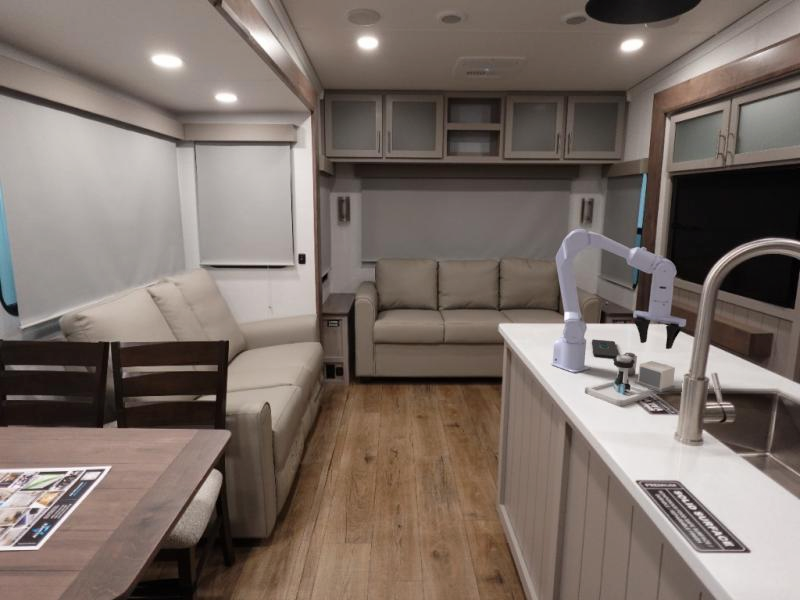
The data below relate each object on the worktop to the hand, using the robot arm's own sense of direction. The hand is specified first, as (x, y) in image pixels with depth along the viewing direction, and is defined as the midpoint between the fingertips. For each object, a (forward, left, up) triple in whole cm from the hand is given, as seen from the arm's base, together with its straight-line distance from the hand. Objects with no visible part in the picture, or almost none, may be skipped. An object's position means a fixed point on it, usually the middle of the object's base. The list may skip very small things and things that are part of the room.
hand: (655, 345), depth 147 cm
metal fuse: (-6, -3, -10) cm, 12 cm away
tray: (+3, -21, -10) cm, 24 cm away
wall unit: (+4, -5, -10) cm, 12 cm away
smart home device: (-26, +13, -11) cm, 32 cm away
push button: (+3, -19, -10) cm, 22 cm away
